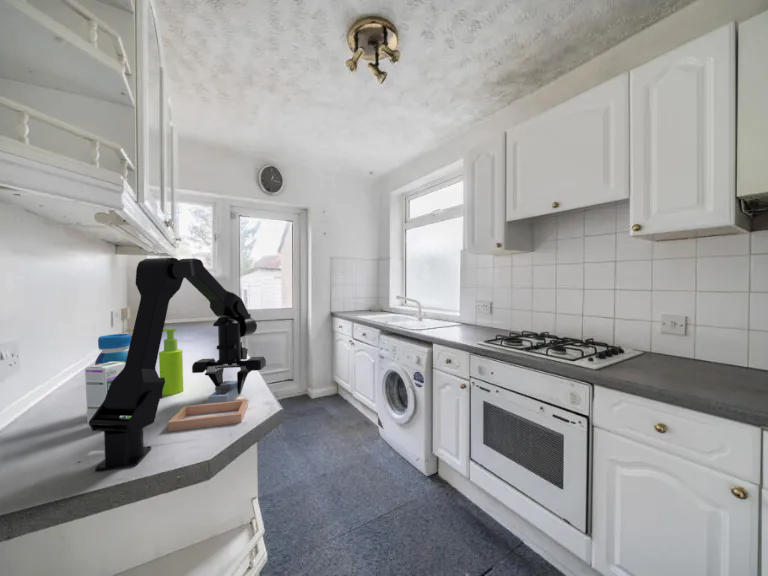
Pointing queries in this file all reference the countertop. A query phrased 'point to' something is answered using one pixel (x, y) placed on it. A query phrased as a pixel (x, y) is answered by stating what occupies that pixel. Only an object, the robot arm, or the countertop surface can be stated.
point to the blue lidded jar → (113, 348)
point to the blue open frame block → (229, 396)
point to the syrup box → (100, 385)
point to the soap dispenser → (171, 365)
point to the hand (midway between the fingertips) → (230, 394)
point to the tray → (181, 423)
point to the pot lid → (224, 391)
